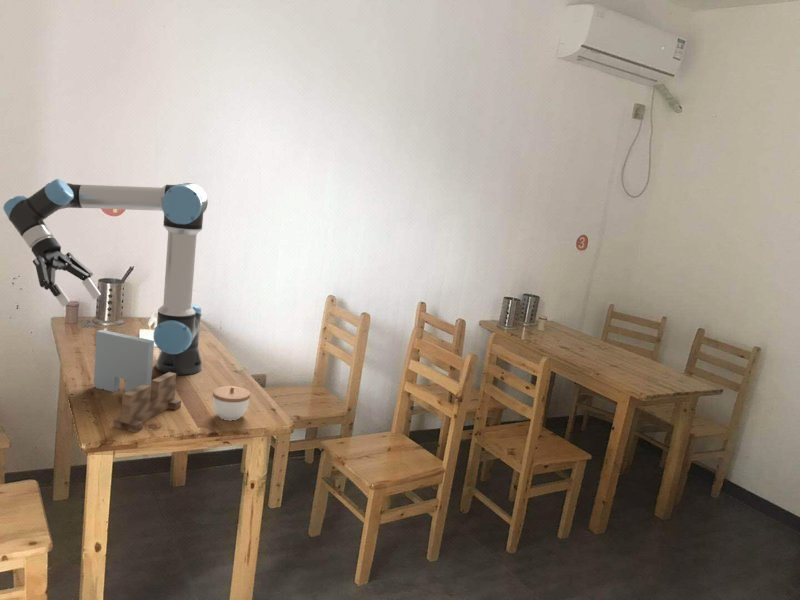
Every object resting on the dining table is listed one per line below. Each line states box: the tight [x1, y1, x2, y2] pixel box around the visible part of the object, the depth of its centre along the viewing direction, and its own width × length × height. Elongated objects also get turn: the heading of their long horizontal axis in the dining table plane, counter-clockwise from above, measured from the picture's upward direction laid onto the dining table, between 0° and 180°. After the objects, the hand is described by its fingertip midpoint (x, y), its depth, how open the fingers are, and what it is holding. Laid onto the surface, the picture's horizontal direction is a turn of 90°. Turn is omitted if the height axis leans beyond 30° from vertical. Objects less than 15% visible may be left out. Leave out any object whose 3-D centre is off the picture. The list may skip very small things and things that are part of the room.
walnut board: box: [112, 372, 182, 433], centre depth 185 cm, size 22×7×10 cm, turn 167°
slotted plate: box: [93, 329, 155, 393], centre depth 199 cm, size 18×2×18 cm, turn 77°
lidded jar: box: [212, 385, 251, 422], centre depth 193 cm, size 11×11×9 cm
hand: (82, 300), depth 198 cm, fingers open, 13 cm apart
